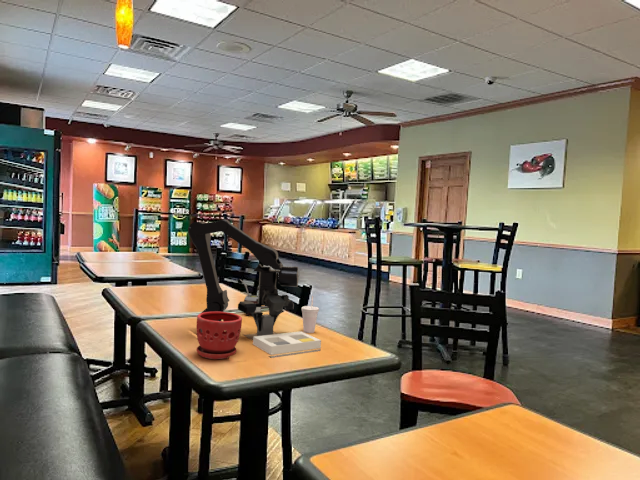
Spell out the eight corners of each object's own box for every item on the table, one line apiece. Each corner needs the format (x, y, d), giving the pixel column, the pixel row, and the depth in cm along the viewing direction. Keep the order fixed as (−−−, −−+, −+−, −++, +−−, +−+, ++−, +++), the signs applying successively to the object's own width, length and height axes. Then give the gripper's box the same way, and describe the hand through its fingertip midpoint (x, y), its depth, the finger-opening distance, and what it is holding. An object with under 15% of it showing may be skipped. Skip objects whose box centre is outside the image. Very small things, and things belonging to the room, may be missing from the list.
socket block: (270, 358, 141) (271, 345, 141) (252, 347, 151) (253, 335, 151) (320, 351, 151) (321, 339, 151) (300, 341, 161) (301, 330, 161)
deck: (254, 344, 154) (254, 341, 154) (242, 337, 161) (242, 334, 161) (286, 340, 161) (286, 337, 161) (273, 334, 168) (273, 331, 168)
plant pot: (201, 364, 132) (203, 321, 132) (190, 350, 144) (192, 311, 143) (246, 359, 138) (248, 319, 138) (232, 347, 150) (234, 309, 149)
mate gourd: (263, 315, 198) (265, 279, 197) (251, 318, 191) (253, 281, 191) (249, 312, 202) (251, 277, 201) (237, 315, 195) (239, 279, 195)
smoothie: (315, 337, 168) (317, 298, 167) (298, 335, 169) (300, 296, 168) (319, 333, 174) (321, 295, 173) (302, 331, 175) (304, 293, 174)
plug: (262, 338, 158) (263, 316, 158) (256, 335, 162) (257, 314, 161) (272, 337, 161) (273, 316, 160) (267, 334, 164) (268, 313, 164)
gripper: (253, 290, 148) (250, 339, 149) (303, 287, 159) (300, 333, 160) (238, 284, 157) (235, 331, 158) (286, 282, 168) (284, 326, 169)
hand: (265, 330), depth 161 cm, fingers closed on plug, 4 cm apart
